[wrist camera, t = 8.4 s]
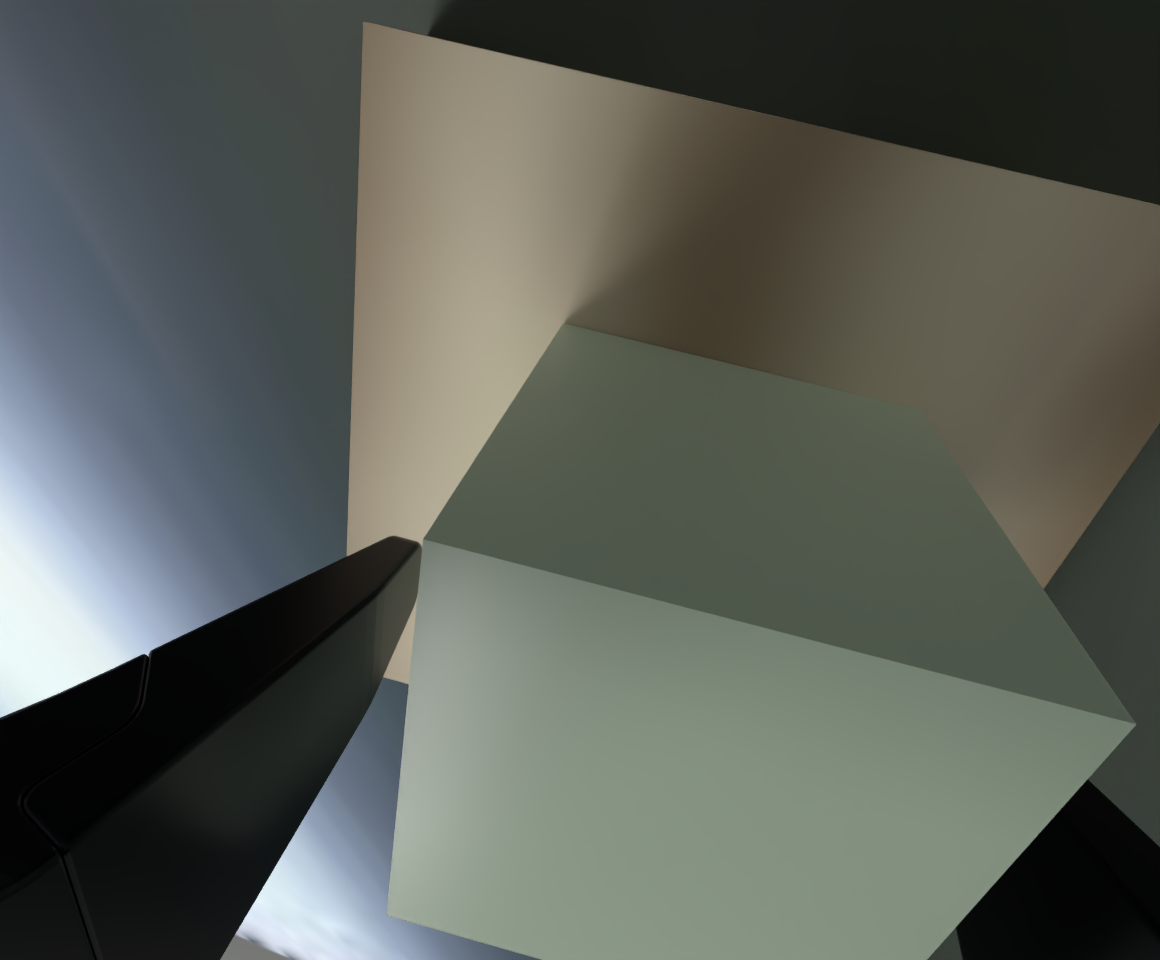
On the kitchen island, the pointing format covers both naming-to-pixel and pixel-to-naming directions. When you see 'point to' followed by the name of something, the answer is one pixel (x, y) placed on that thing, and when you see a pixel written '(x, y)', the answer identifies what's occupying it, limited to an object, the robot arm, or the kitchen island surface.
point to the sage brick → (725, 676)
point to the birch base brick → (729, 280)
